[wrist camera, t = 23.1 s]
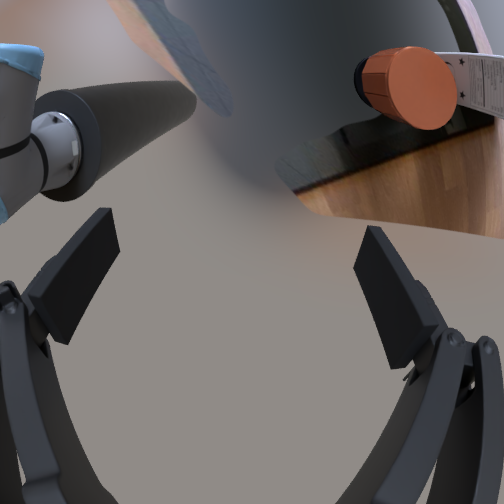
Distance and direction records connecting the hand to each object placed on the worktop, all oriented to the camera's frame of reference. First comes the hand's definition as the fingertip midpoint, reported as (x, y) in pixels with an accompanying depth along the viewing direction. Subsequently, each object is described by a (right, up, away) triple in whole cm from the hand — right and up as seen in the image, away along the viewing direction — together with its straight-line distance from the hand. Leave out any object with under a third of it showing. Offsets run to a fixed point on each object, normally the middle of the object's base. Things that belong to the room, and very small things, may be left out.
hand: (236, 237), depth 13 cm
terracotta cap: (+20, +22, +14) cm, 33 cm away
